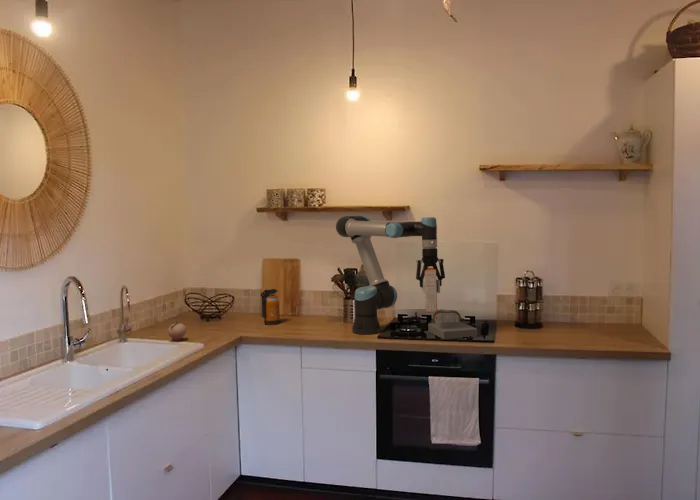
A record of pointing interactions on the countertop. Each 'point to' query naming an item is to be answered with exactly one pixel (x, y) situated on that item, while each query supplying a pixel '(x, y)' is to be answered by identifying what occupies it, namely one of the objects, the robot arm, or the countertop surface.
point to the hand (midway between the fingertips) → (430, 293)
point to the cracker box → (430, 290)
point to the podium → (452, 330)
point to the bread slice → (446, 316)
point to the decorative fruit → (177, 331)
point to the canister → (270, 307)
